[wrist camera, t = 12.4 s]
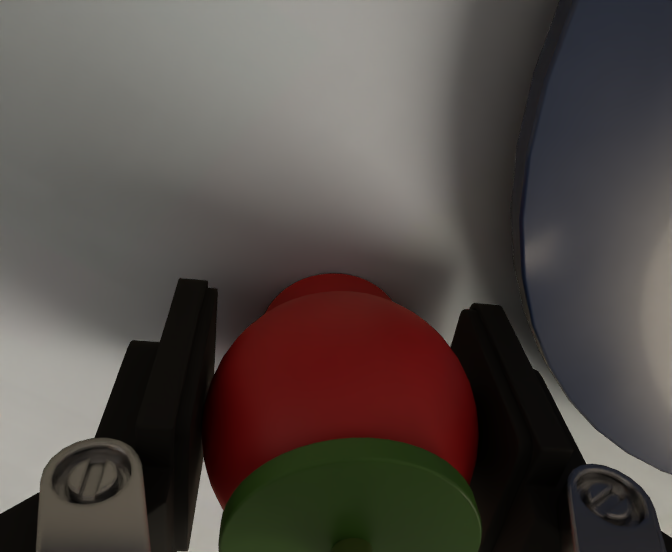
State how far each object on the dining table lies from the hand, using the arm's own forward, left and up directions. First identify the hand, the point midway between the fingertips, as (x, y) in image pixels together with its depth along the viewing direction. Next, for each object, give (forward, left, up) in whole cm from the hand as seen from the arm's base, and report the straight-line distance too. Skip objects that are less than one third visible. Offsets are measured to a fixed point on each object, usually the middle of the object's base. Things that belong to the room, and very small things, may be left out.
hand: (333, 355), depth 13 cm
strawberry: (0, 0, -1) cm, 1 cm away
